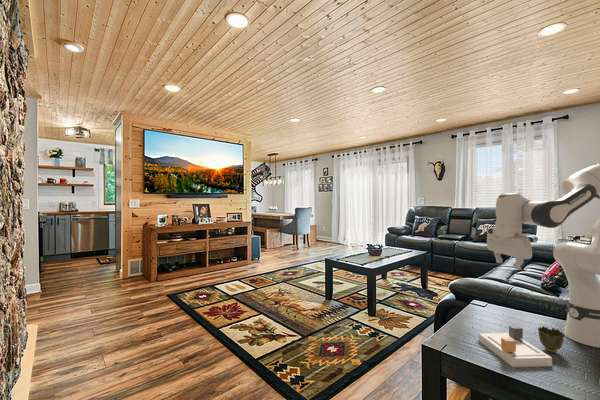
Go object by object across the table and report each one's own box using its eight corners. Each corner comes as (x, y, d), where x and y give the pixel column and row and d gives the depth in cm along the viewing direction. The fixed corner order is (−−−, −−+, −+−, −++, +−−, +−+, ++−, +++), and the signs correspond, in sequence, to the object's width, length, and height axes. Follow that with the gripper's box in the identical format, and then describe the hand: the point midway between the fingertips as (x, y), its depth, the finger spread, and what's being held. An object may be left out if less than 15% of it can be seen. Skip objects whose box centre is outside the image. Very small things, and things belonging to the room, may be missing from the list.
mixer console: (511, 339, 116) (511, 332, 116) (552, 366, 98) (552, 357, 98) (478, 340, 116) (478, 333, 116) (512, 367, 98) (512, 358, 98)
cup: (563, 350, 108) (563, 330, 108) (564, 359, 102) (564, 337, 102) (538, 344, 113) (538, 324, 113) (537, 351, 107) (537, 331, 107)
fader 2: (517, 335, 113) (517, 325, 113) (522, 338, 111) (522, 328, 110) (509, 335, 113) (509, 325, 113) (513, 338, 110) (513, 328, 110)
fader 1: (510, 348, 104) (510, 337, 104) (515, 351, 101) (515, 340, 101) (501, 348, 104) (501, 337, 104) (506, 352, 101) (506, 340, 101)
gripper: (537, 235, 106) (536, 272, 106) (497, 229, 127) (497, 259, 127) (521, 235, 106) (520, 272, 106) (484, 229, 126) (483, 259, 127)
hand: (507, 265), depth 117 cm, fingers open, 8 cm apart
